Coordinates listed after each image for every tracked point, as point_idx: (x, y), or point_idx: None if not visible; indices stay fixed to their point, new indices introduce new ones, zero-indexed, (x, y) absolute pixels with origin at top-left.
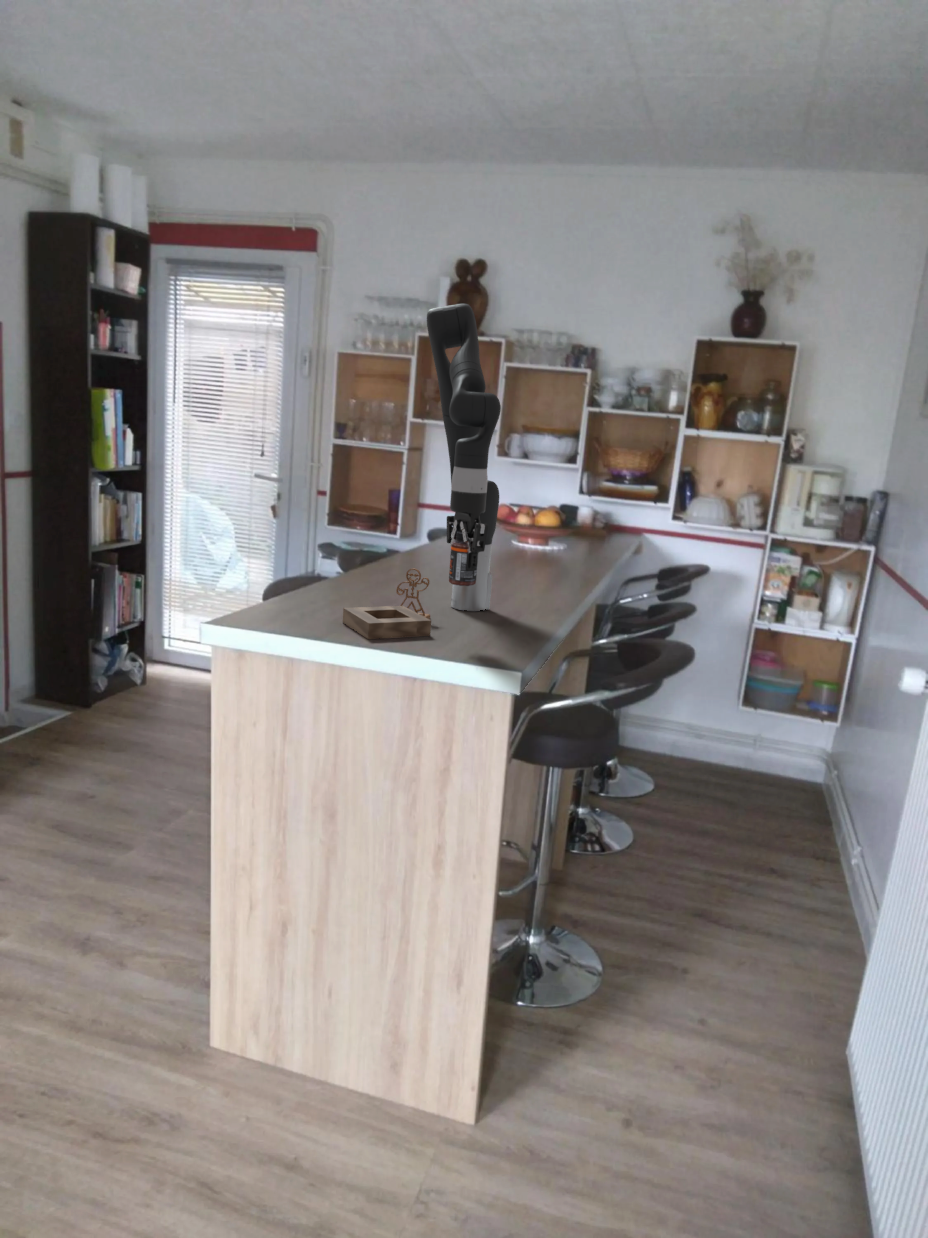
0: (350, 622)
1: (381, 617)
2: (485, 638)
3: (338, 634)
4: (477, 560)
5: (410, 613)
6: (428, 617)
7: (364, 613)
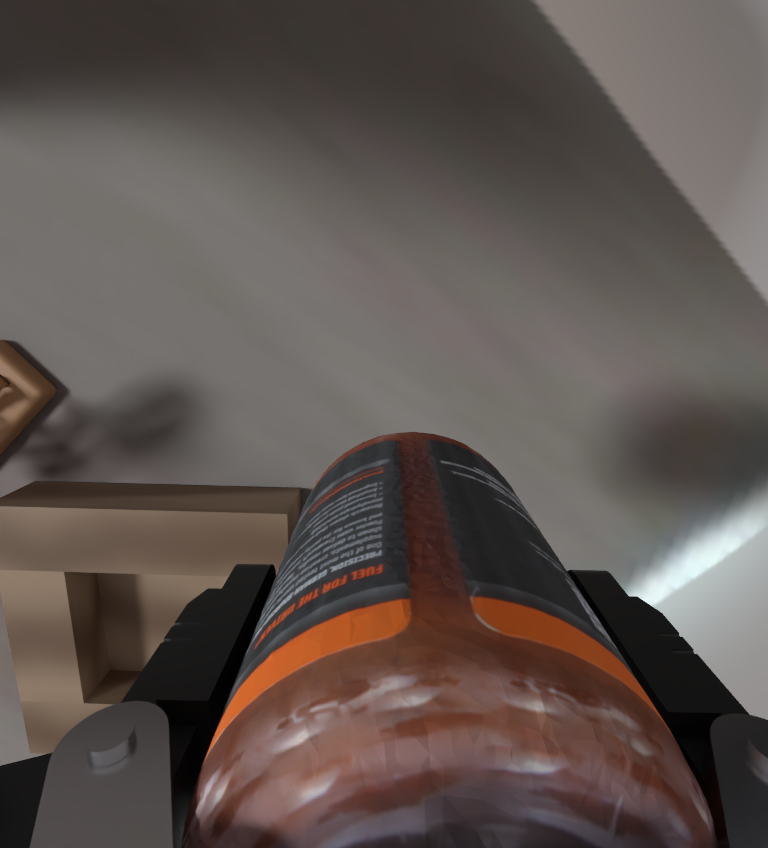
0: None
1: (93, 610)
2: (387, 271)
3: None
4: (551, 558)
5: (145, 542)
6: (19, 361)
7: None
